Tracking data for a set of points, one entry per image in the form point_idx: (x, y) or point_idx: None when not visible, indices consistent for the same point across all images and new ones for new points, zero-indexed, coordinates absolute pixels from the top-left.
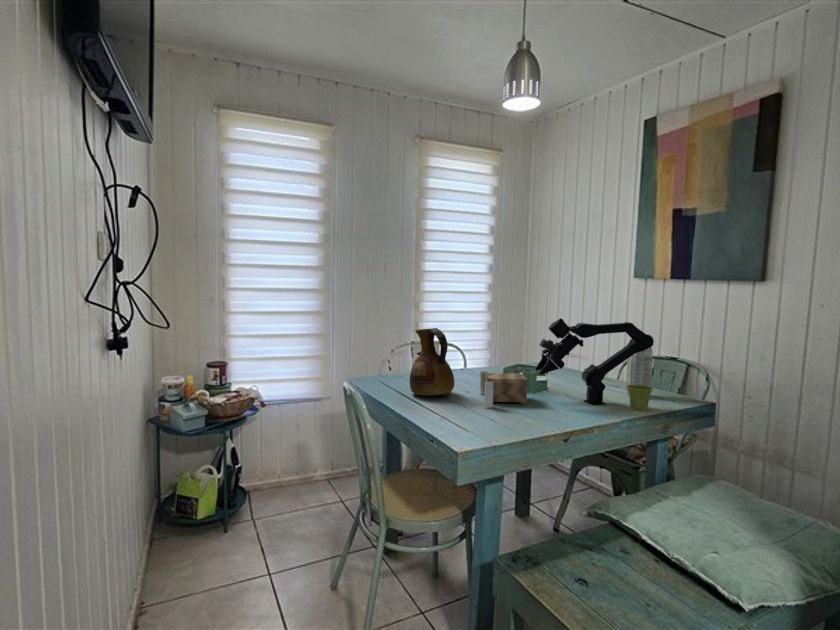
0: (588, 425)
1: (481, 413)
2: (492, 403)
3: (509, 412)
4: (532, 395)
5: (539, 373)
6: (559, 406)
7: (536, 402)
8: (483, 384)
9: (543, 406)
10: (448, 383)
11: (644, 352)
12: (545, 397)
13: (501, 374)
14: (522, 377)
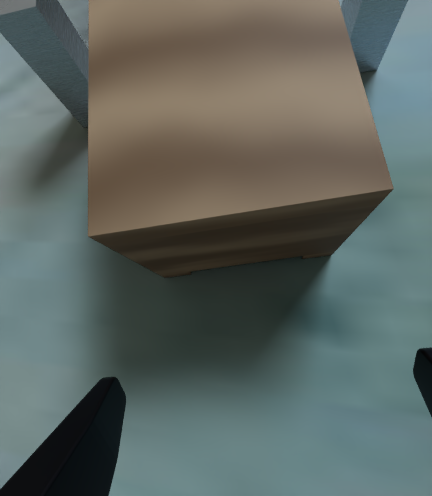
0: None
1: (9, 97)
2: (71, 111)
3: (25, 197)
4: (422, 332)
5: (109, 379)
6: (160, 486)
7: (231, 341)
8: (349, 3)
9: (146, 375)
10: None
11: None
12: (391, 424)
13: (280, 16)
14: (180, 194)
